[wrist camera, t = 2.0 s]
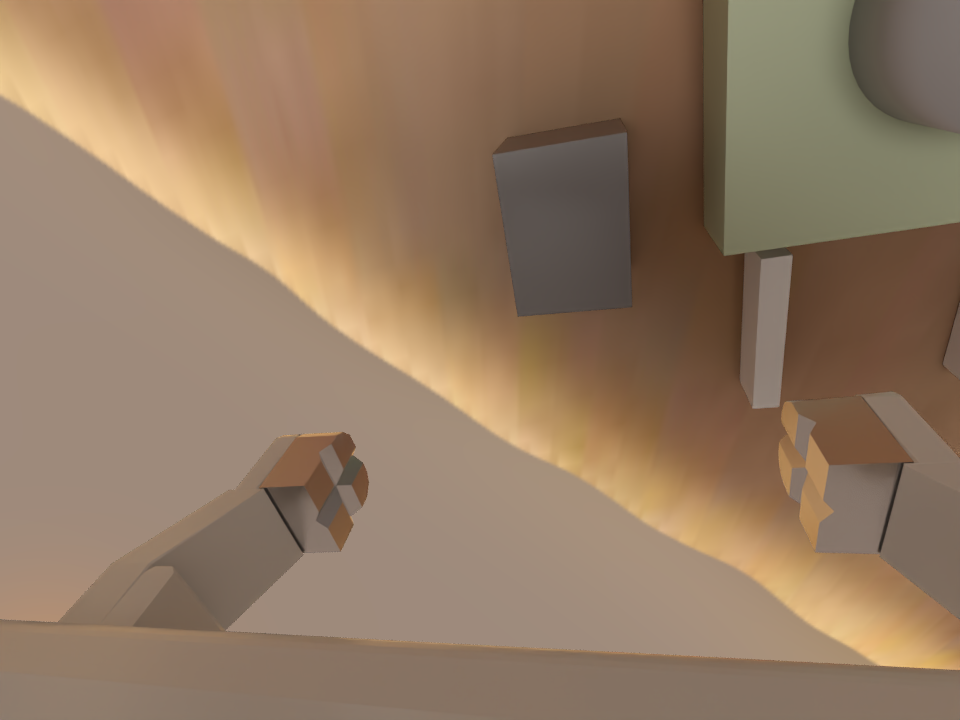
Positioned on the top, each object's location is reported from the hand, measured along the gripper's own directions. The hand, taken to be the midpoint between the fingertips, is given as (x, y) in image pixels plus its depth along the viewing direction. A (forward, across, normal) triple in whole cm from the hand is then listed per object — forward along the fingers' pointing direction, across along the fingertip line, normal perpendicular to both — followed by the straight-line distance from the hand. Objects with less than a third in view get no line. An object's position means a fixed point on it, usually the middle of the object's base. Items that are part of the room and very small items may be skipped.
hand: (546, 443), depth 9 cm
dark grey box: (+17, 0, 0) cm, 17 cm away
